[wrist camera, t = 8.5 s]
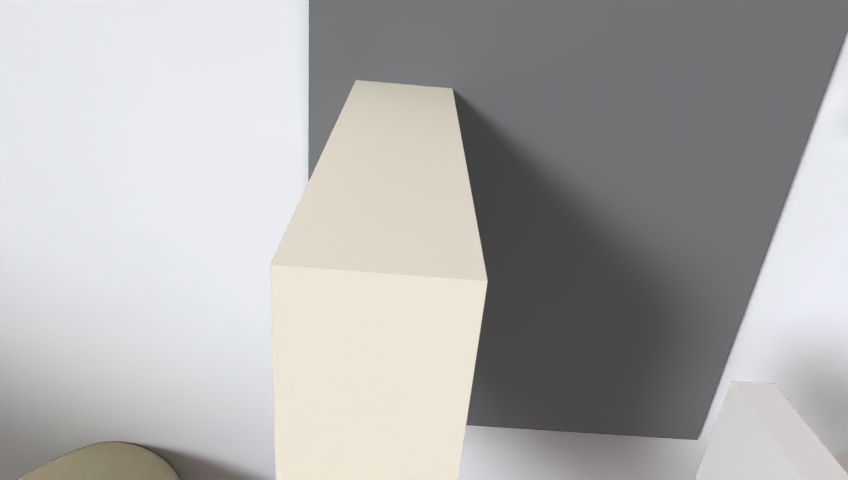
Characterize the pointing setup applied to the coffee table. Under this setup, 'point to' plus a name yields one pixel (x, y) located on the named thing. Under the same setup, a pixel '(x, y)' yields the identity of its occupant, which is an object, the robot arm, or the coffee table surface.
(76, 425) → the coffee table surface
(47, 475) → the flower pot
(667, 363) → the mat
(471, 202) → the slab
